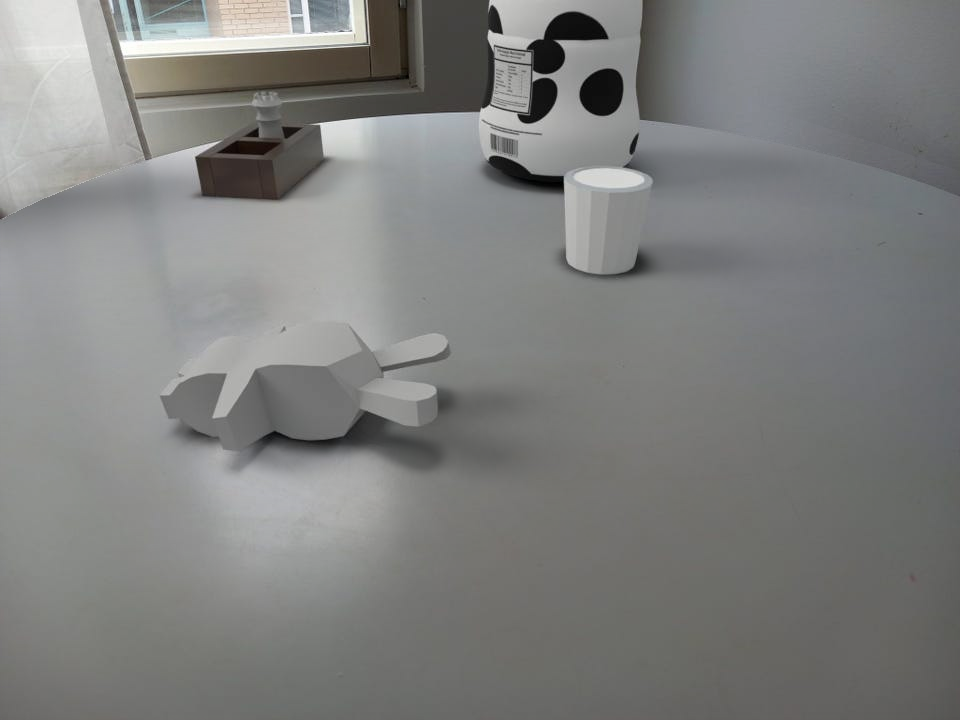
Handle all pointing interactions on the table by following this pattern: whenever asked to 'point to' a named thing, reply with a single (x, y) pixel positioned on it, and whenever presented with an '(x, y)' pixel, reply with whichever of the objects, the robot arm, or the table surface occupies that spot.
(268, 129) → the rook chess piece
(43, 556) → the table surface
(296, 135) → the rack
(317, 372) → the bunny figurine
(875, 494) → the table surface
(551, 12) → the milk container
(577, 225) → the shot glass
